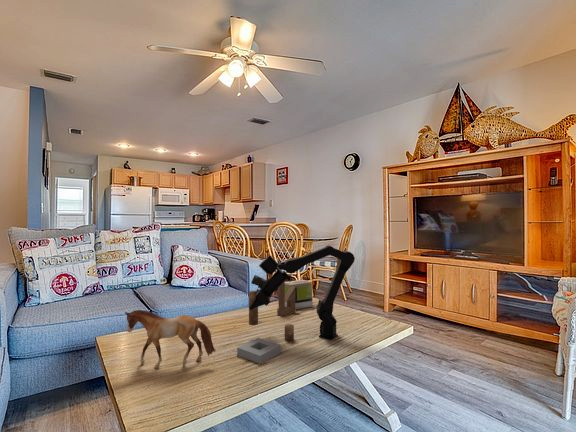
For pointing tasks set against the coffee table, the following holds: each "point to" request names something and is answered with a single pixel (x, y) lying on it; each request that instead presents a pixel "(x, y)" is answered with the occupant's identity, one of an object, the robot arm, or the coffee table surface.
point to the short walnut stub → (289, 332)
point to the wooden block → (286, 300)
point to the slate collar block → (259, 350)
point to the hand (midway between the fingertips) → (250, 307)
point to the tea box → (301, 293)
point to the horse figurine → (171, 332)
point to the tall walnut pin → (254, 312)
